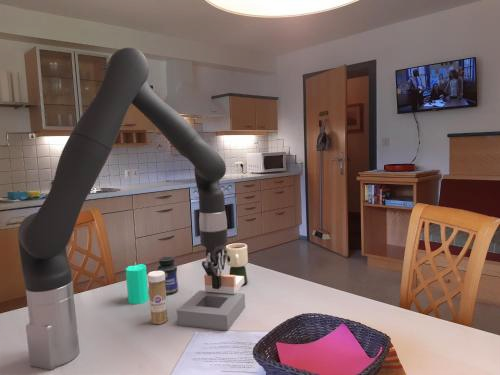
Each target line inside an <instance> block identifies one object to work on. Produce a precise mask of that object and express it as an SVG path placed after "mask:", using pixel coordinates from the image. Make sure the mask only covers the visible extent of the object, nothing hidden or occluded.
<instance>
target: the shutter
mask: <svg viewBox="0 0 500 375" xmlns="http://www.w3.org/2000/svg"><path fill="white" fill-rule="evenodd" d="M220 275H221V287H220V288H219V289H213V288H212V276H208V275H207V273H206V272H205V274H204V276H203V277H204V290H205V292H216V293H228V294H235V293H238V291H239V289H240V288H242V286H243V285H244V284H245V283H244V276H235V275H229V274H223V273H222V274H220Z"/></svg>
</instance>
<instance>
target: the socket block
mask: <svg viewBox="0 0 500 375" xmlns="http://www.w3.org/2000/svg"><path fill="white" fill-rule="evenodd" d="M245 298H246V296H245V293H239V292H236V293H235V294H228V293H216V292H205V289H204V290H202V289H199V290H198V291H196V292H195V294H194V295H192V296H191V297H190V298H189V299H188V300H186V302H184V303H183V304H182V305H181V306H180V307H179V308H178V309H176V317H177V326H183V327H194V328H202V329H210V330H219V331H229V329H230V328H231V327H232V326H233V324H234V323H235V322H236V320H238V318H239V316H240V315H241V314H242V312H243V311H244V310H245V308H246V299H245Z"/></svg>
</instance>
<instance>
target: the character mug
mask: <svg viewBox="0 0 500 375" xmlns="http://www.w3.org/2000/svg"><path fill="white" fill-rule="evenodd" d="M225 250H227V255H226V261H225V262H226V265H227V266H229V267H230V268H229V274H228V275H235V276H244V284H246V283H248V275H247V270H246V266H247V265H248V264H249V257H248V256H249V255H248V244H246V243H244V242H243V243H241V242H237V243H236V242H235V243H231V244H230V243H229V244H226V245H225Z"/></svg>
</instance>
